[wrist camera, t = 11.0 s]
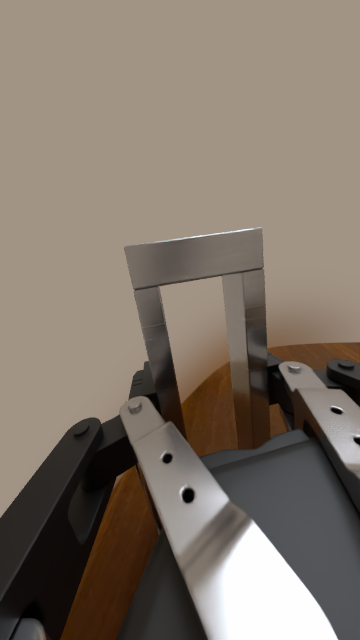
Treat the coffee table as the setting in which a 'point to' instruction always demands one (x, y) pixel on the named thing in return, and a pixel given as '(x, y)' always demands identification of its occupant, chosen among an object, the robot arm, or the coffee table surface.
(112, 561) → the coffee table surface
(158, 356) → the tongs
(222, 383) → the coffee table surface
